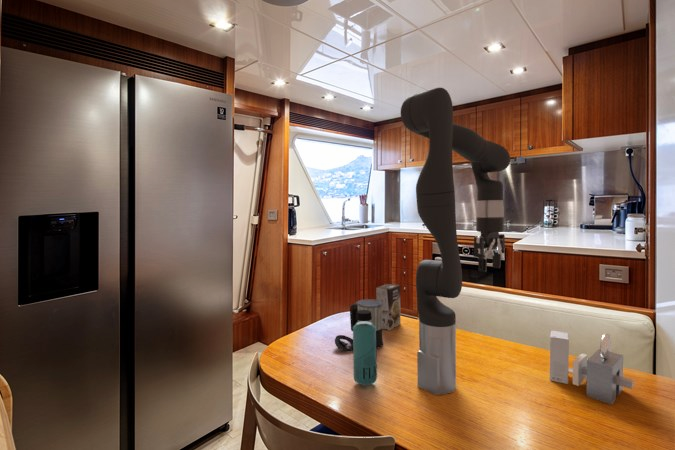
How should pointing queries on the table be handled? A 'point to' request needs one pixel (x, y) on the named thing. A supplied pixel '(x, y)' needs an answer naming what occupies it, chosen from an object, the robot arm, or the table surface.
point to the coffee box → (389, 305)
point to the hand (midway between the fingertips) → (489, 269)
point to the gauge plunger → (581, 373)
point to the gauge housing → (604, 372)
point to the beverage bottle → (364, 349)
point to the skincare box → (559, 356)
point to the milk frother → (376, 320)
